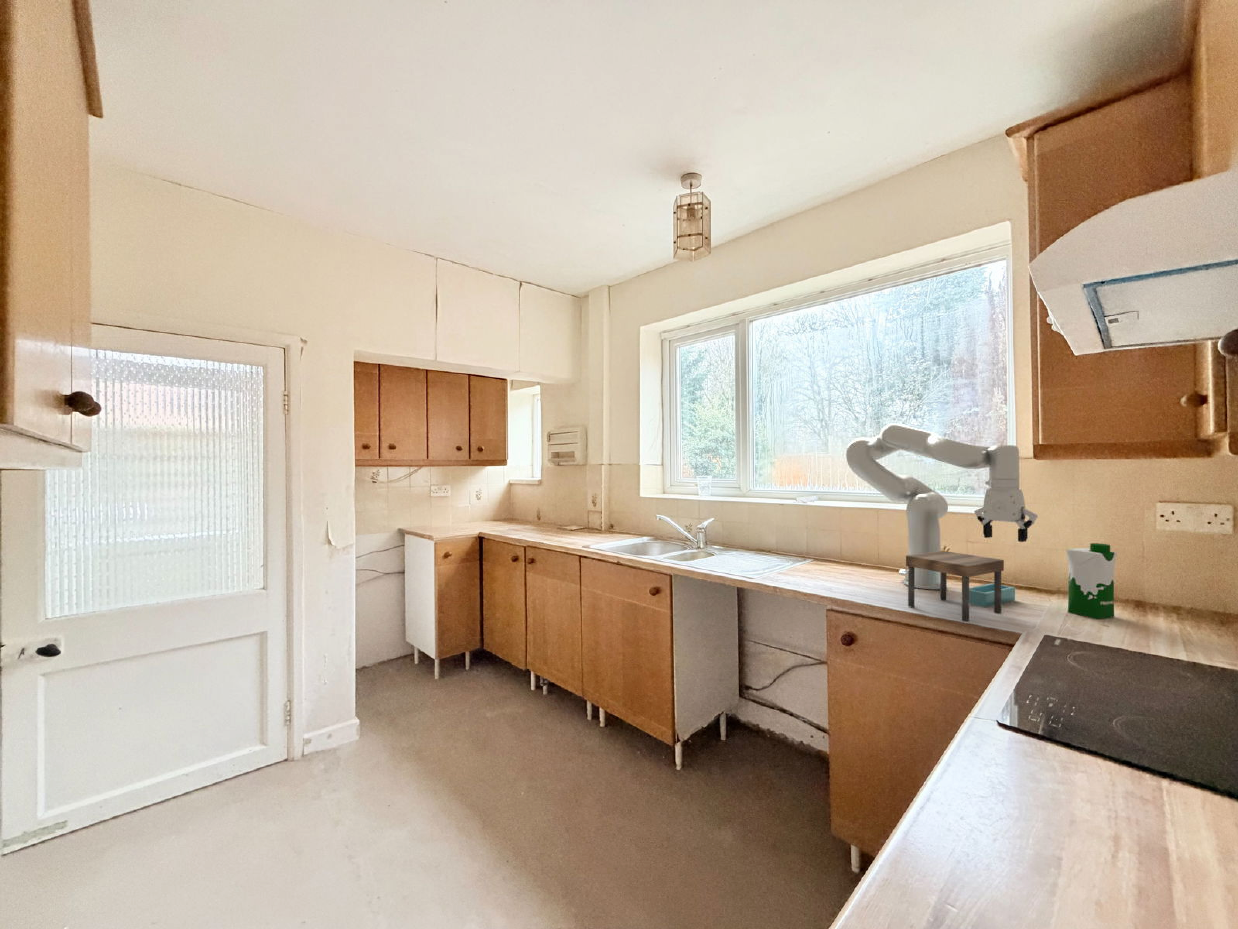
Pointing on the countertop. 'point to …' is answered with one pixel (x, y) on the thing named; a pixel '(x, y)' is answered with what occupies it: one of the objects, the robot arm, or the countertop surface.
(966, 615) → the small wooden table
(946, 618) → the countertop surface
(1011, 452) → the robot arm
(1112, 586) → the milk carton
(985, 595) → the tray
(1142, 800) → the countertop surface
